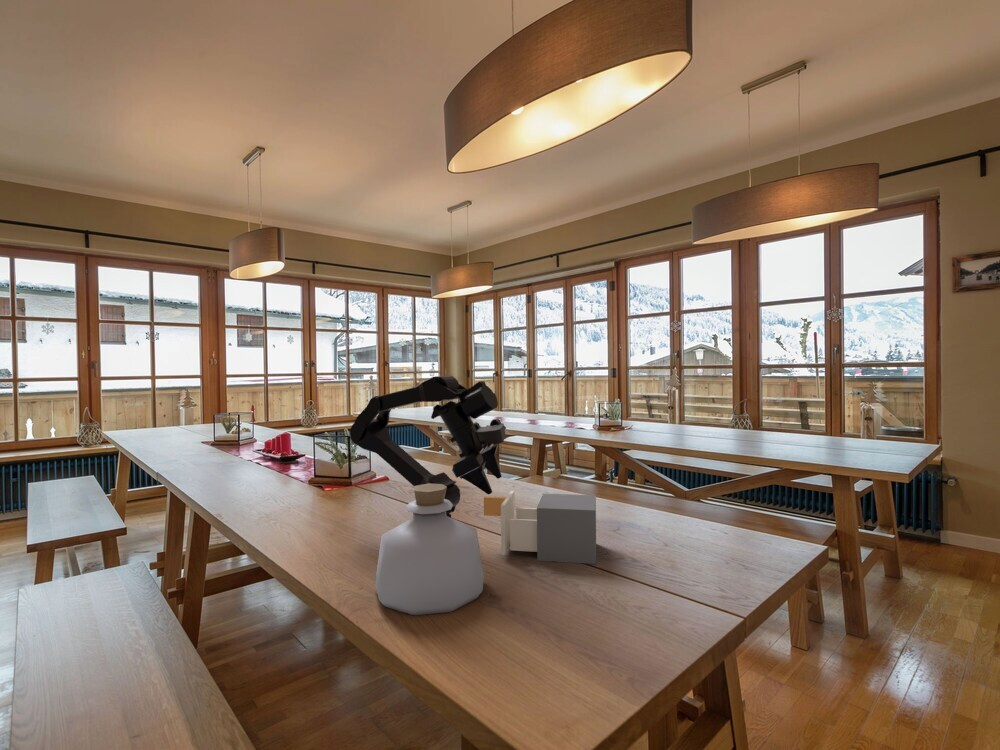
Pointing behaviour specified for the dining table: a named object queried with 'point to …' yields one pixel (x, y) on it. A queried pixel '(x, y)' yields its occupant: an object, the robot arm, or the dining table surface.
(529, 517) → the white drawer unit
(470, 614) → the dining table surface
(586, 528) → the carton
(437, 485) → the bottle
